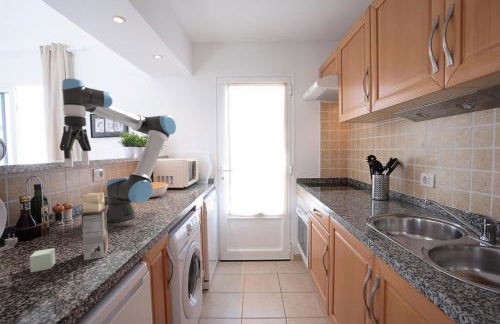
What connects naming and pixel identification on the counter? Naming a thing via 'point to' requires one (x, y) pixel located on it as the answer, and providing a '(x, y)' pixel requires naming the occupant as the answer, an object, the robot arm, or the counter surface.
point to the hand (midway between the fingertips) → (77, 166)
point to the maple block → (93, 202)
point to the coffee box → (95, 234)
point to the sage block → (42, 260)
